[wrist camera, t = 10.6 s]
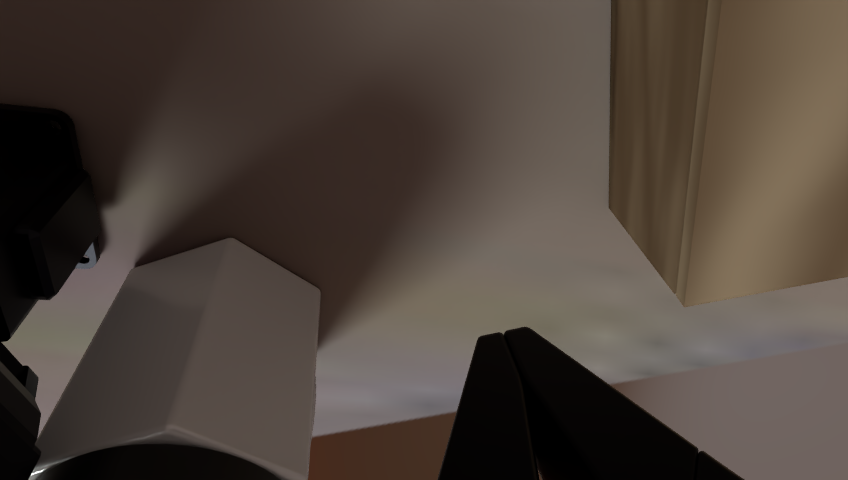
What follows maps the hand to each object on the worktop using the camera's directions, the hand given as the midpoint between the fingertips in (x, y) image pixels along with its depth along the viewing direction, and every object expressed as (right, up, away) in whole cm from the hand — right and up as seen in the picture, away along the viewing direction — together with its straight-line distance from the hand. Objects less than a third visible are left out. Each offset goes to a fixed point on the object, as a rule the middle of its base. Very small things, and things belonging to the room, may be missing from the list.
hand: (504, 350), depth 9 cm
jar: (-10, -2, +16) cm, 19 cm away
